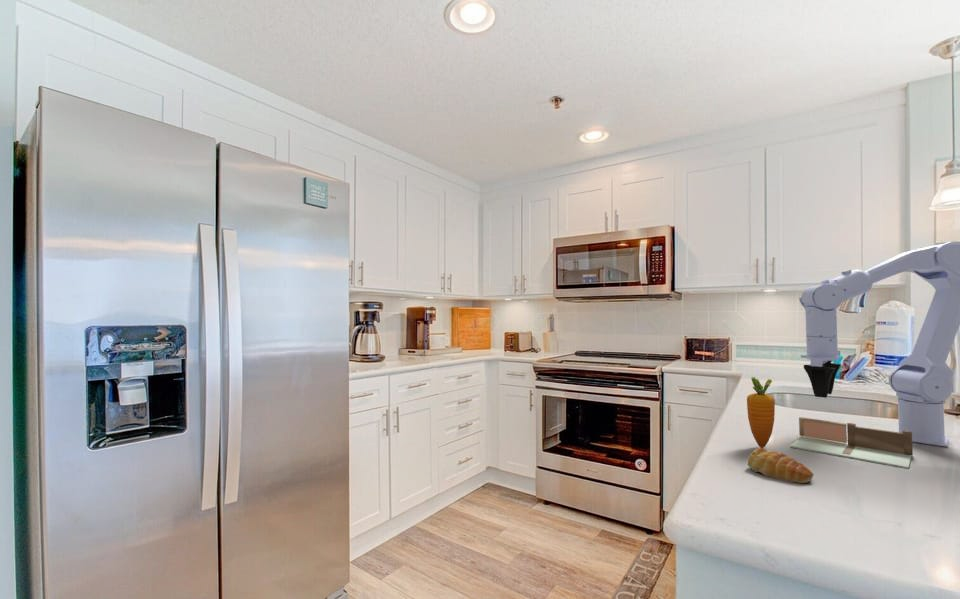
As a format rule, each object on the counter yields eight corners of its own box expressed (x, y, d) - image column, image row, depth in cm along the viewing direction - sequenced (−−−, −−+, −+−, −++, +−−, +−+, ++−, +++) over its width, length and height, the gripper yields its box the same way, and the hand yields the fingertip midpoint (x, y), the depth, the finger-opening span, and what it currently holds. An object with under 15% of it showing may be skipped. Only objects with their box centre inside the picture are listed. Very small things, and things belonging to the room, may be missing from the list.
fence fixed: (848, 443, 94) (847, 422, 94) (912, 454, 87) (912, 431, 87) (847, 445, 93) (846, 423, 93) (912, 455, 86) (911, 432, 86)
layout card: (804, 434, 102) (804, 432, 102) (912, 451, 89) (912, 449, 89) (790, 447, 93) (790, 445, 93) (908, 468, 79) (908, 466, 79)
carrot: (775, 446, 93) (773, 376, 93) (776, 453, 89) (774, 379, 89) (748, 443, 96) (746, 374, 96) (747, 449, 91) (745, 377, 92)
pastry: (822, 481, 74) (821, 459, 74) (799, 489, 71) (798, 465, 71) (765, 464, 83) (764, 444, 83) (743, 470, 80) (742, 449, 80)
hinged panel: (800, 434, 100) (799, 417, 100) (847, 442, 94) (846, 423, 94) (798, 435, 99) (798, 417, 99) (846, 443, 93) (845, 424, 93)
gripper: (806, 335, 109) (808, 389, 109) (793, 337, 100) (795, 397, 99) (843, 335, 104) (845, 392, 104) (832, 338, 94) (834, 401, 94)
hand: (823, 395), depth 101 cm, fingers open, 5 cm apart
